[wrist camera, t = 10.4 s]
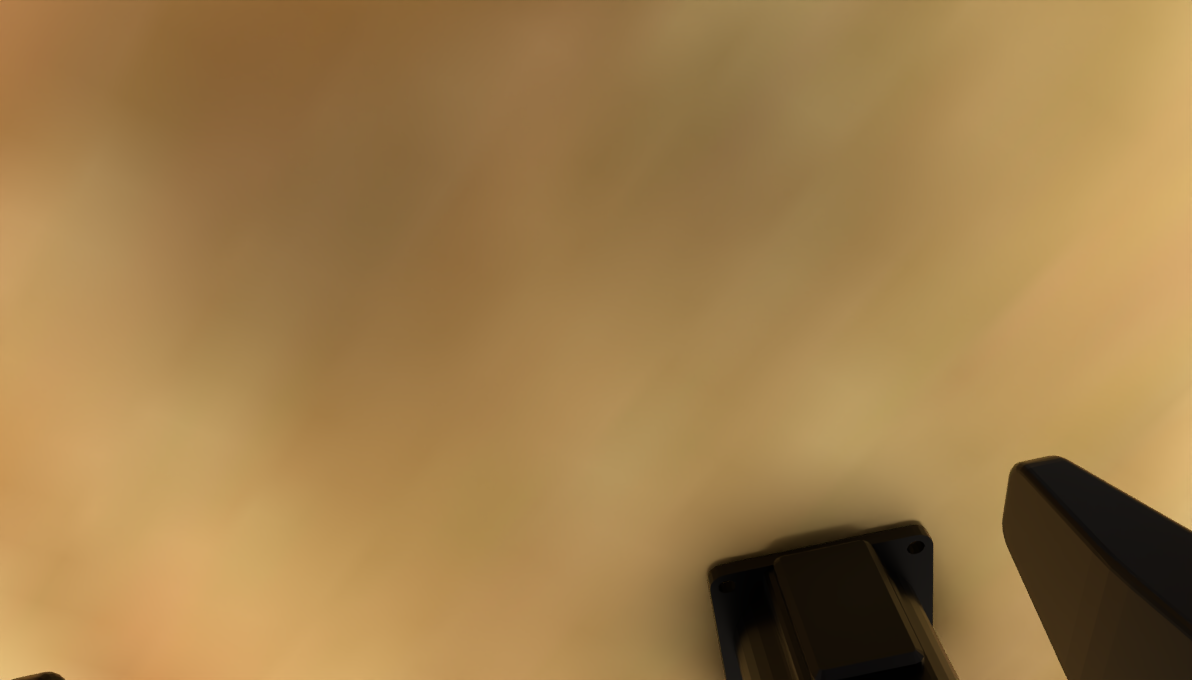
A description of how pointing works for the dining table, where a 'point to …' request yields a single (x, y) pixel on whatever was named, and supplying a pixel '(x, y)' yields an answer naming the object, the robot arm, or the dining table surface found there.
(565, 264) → the dining table surface
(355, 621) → the dining table surface
